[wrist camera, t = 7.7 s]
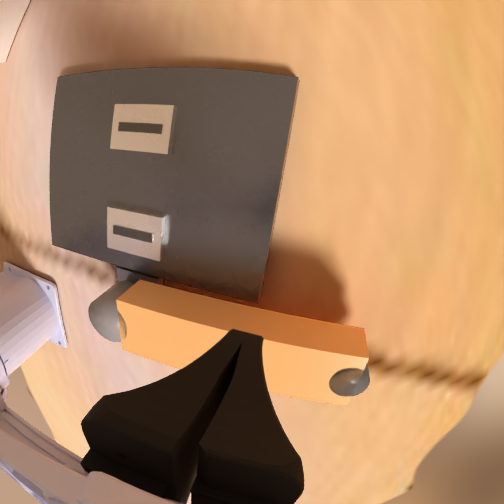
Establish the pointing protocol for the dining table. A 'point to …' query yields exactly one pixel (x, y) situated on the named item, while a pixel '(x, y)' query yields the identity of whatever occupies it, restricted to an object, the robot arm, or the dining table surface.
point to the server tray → (171, 172)
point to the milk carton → (10, 23)
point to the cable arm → (240, 318)
